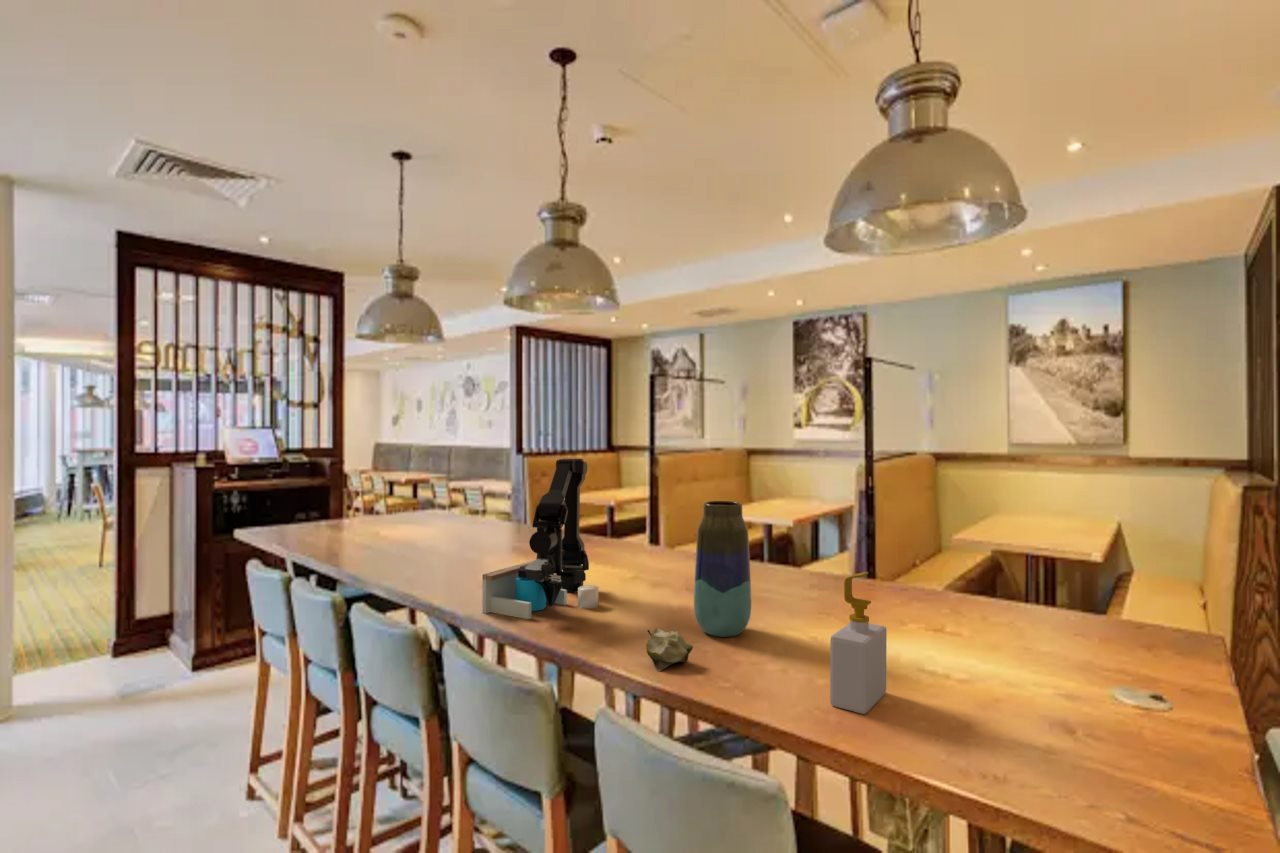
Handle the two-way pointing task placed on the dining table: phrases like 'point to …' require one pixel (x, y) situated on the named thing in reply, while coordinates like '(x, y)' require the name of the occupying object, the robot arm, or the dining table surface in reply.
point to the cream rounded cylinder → (588, 597)
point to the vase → (722, 570)
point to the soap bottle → (857, 658)
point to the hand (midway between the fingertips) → (551, 606)
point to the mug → (530, 593)
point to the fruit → (667, 648)
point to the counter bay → (508, 593)
